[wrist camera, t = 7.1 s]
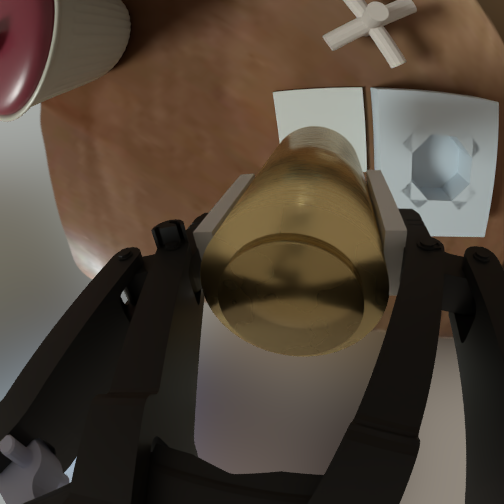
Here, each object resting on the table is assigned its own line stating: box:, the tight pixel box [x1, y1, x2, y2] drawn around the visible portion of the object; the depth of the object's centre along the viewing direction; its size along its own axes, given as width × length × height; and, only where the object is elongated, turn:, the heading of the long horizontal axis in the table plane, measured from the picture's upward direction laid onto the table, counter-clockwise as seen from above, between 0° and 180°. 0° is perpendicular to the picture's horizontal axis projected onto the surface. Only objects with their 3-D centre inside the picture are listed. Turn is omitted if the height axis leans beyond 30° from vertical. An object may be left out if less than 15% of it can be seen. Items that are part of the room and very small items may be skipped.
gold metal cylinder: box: [200, 126, 389, 356], centre depth 14 cm, size 6×6×14 cm
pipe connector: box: [322, 0, 417, 68], centre depth 20 cm, size 10×10×10 cm
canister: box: [0, 0, 131, 122], centre depth 22 cm, size 18×18×21 cm
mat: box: [273, 87, 367, 172], centre depth 32 cm, size 10×10×1 cm
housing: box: [371, 87, 499, 237], centre depth 28 cm, size 16×14×5 cm
